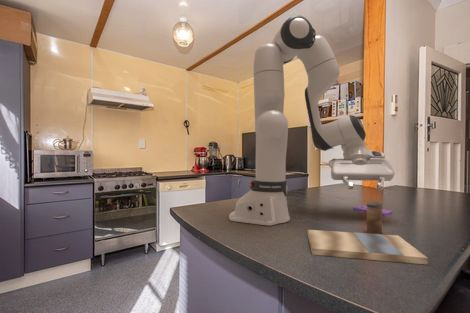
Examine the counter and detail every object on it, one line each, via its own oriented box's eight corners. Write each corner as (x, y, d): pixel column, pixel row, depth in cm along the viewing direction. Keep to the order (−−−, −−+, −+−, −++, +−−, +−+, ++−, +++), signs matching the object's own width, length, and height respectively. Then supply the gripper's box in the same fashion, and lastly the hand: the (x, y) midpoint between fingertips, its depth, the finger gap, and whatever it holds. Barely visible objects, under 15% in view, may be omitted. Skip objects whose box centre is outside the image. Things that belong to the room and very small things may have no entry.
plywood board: (312, 254, 56) (312, 247, 56) (307, 234, 70) (307, 229, 70) (427, 264, 51) (427, 257, 51) (398, 240, 65) (398, 235, 65)
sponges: (360, 209, 103) (360, 204, 103) (392, 215, 93) (392, 210, 93) (352, 211, 99) (352, 206, 99) (385, 218, 89) (385, 213, 89)
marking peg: (369, 234, 70) (369, 204, 70) (364, 230, 74) (365, 201, 74) (384, 235, 69) (384, 205, 69) (379, 231, 73) (379, 202, 73)
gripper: (329, 153, 89) (334, 182, 80) (389, 152, 85) (402, 183, 75) (327, 164, 94) (331, 193, 84) (384, 164, 89) (395, 194, 80)
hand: (365, 188), depth 80 cm, fingers open, 8 cm apart
